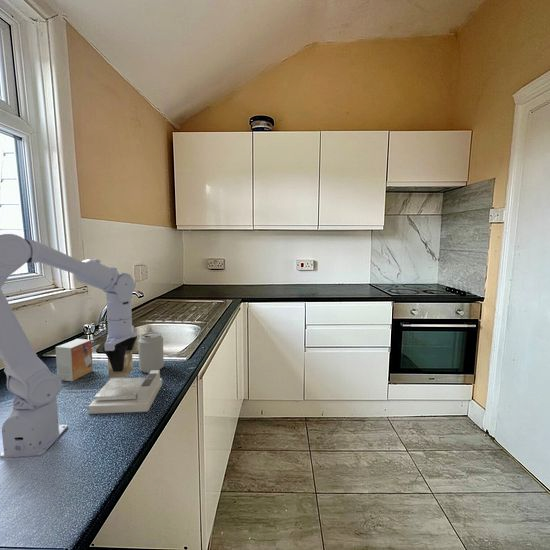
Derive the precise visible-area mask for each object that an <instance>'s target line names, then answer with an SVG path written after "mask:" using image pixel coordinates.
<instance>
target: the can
mask: <svg viewBox="0 0 550 550" xmlns="http://www.w3.org/2000/svg"><path fill="white" fill-rule="evenodd" d="M139 337H140V338H139V339H138V341H137V342H138V369H139V370H140V371H141V372H142V373H143V374H149V373H150V371H151V370H160V369H161V370H162V368H164V365H165V363H164V361H165V360H164V338H163V336H162V334H161V332H158V331H150V332H149V331H148V332H145V333H142V334H141V335H140V336H139ZM161 370H160V371H161Z"/></svg>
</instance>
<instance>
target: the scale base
mask: <svg viewBox="0 0 550 550" xmlns="http://www.w3.org/2000/svg"><path fill="white" fill-rule="evenodd" d="M160 372H161V370H151V371H150V373H147V374H148V375H147V376H145V378H146V379H145V380H144V382H143V383H142V385H141V386H140V388H139V389H138V391H137V395H138V396H137V398H136V399H123V400H96V401H94V400H92V402H91V403H90V404H89V405H88V414H89V415H90V414H92V415H93V414H94V415H95V414H115V413H117V414H118V413H138V412H139V413H143V412H144V413H145V412H146V413H147V412H149V410H150V408H151V406H152V404H153V403H154V401H155V399H156V397H157V395H158V393H159V391H160V389H161V387H162V385H163V378H162V377H161V373H160Z"/></svg>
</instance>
